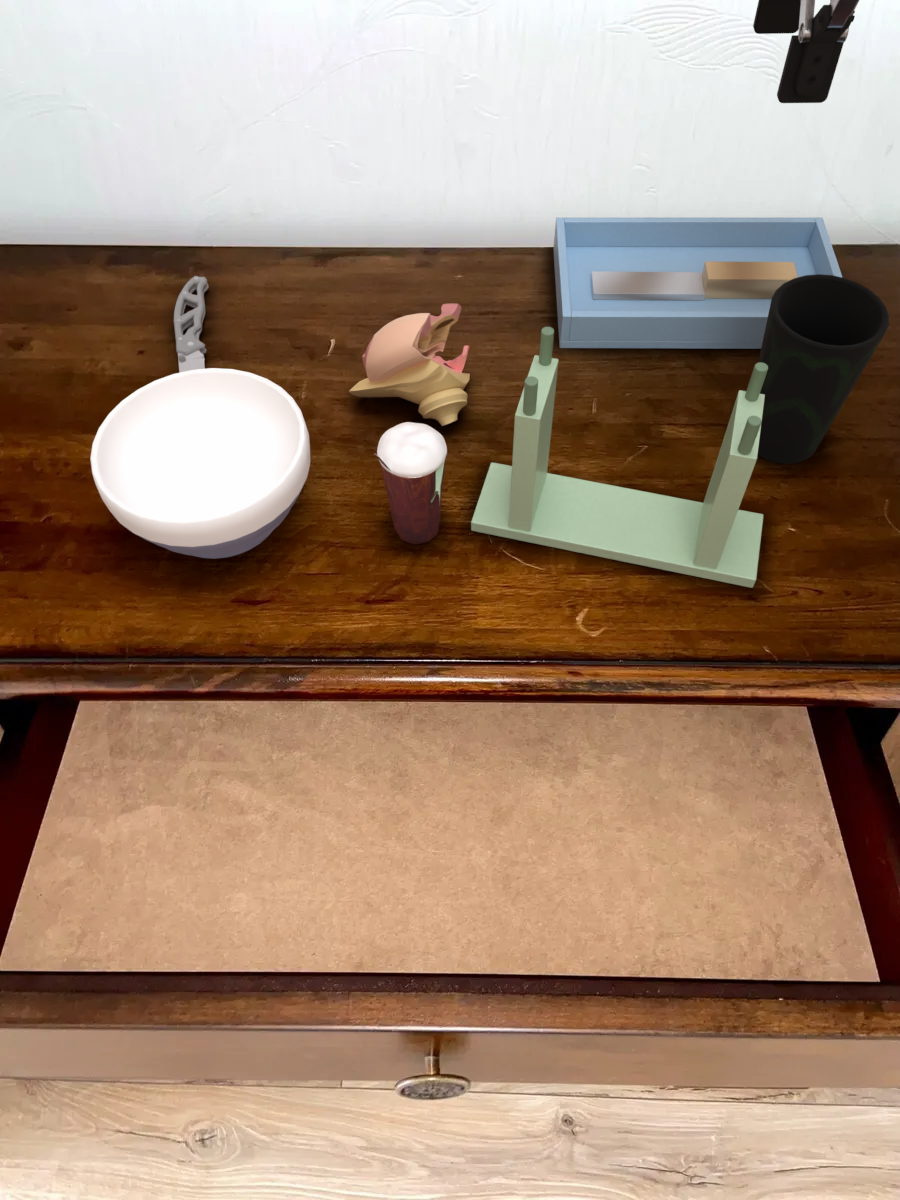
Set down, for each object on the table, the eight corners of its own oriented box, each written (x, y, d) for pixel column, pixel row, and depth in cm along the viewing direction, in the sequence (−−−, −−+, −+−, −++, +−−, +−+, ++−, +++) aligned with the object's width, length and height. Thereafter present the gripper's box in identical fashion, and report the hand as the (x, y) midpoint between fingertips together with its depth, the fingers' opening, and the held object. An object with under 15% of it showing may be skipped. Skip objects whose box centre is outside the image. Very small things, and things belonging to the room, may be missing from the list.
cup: (719, 457, 72) (760, 331, 62) (741, 391, 76) (783, 263, 66) (822, 485, 70) (881, 360, 60) (839, 417, 74) (897, 288, 64)
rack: (760, 522, 68) (822, 368, 56) (752, 588, 65) (817, 439, 53) (490, 470, 71) (495, 314, 59) (470, 531, 68) (471, 378, 56)
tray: (811, 249, 86) (822, 217, 83) (842, 349, 78) (856, 317, 76) (553, 249, 86) (556, 217, 84) (559, 348, 79) (562, 316, 76)
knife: (218, 423, 75) (180, 429, 74) (209, 285, 84) (175, 289, 84) (214, 409, 73) (175, 414, 73) (205, 270, 83) (170, 274, 83)
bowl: (263, 620, 64) (241, 552, 58) (82, 558, 67) (43, 487, 61) (354, 470, 72) (343, 396, 65) (188, 421, 75) (162, 345, 68)
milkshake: (364, 535, 68) (350, 437, 60) (416, 493, 70) (409, 392, 62) (410, 569, 66) (401, 473, 58) (461, 525, 68) (461, 426, 60)
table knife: (786, 279, 82) (793, 259, 81) (792, 301, 81) (799, 281, 79) (590, 277, 83) (593, 258, 81) (592, 300, 81) (595, 280, 80)
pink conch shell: (506, 412, 75) (463, 403, 67) (400, 455, 79) (345, 452, 71) (471, 303, 76) (423, 279, 67) (366, 351, 80) (308, 335, 71)
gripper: (989, -213, 46) (871, 130, 60) (901, -305, 56) (816, 7, 70) (835, -209, 47) (752, 131, 61) (774, -302, 57) (715, 9, 71)
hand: (787, 64), depth 66 cm, fingers open, 9 cm apart
